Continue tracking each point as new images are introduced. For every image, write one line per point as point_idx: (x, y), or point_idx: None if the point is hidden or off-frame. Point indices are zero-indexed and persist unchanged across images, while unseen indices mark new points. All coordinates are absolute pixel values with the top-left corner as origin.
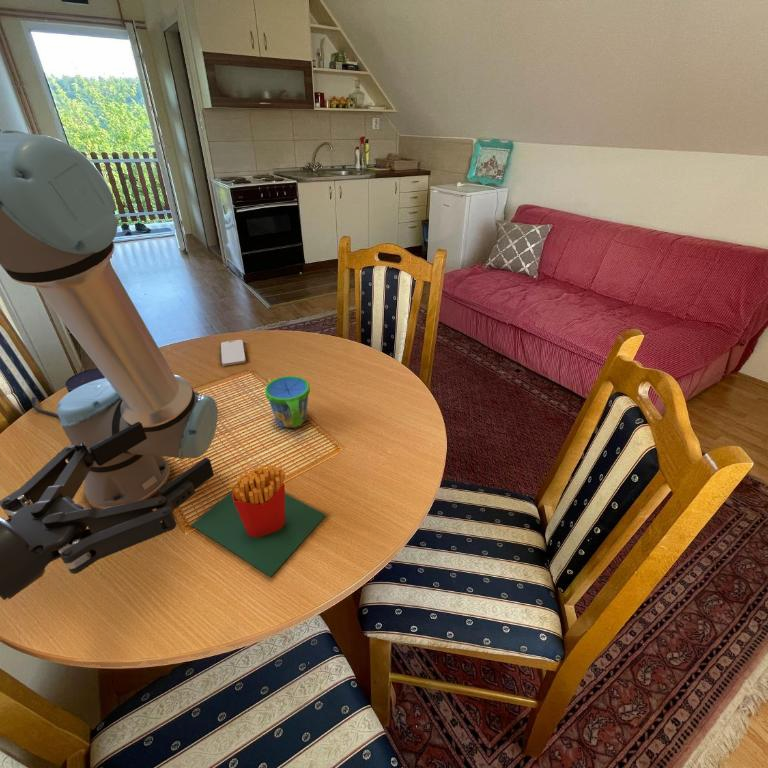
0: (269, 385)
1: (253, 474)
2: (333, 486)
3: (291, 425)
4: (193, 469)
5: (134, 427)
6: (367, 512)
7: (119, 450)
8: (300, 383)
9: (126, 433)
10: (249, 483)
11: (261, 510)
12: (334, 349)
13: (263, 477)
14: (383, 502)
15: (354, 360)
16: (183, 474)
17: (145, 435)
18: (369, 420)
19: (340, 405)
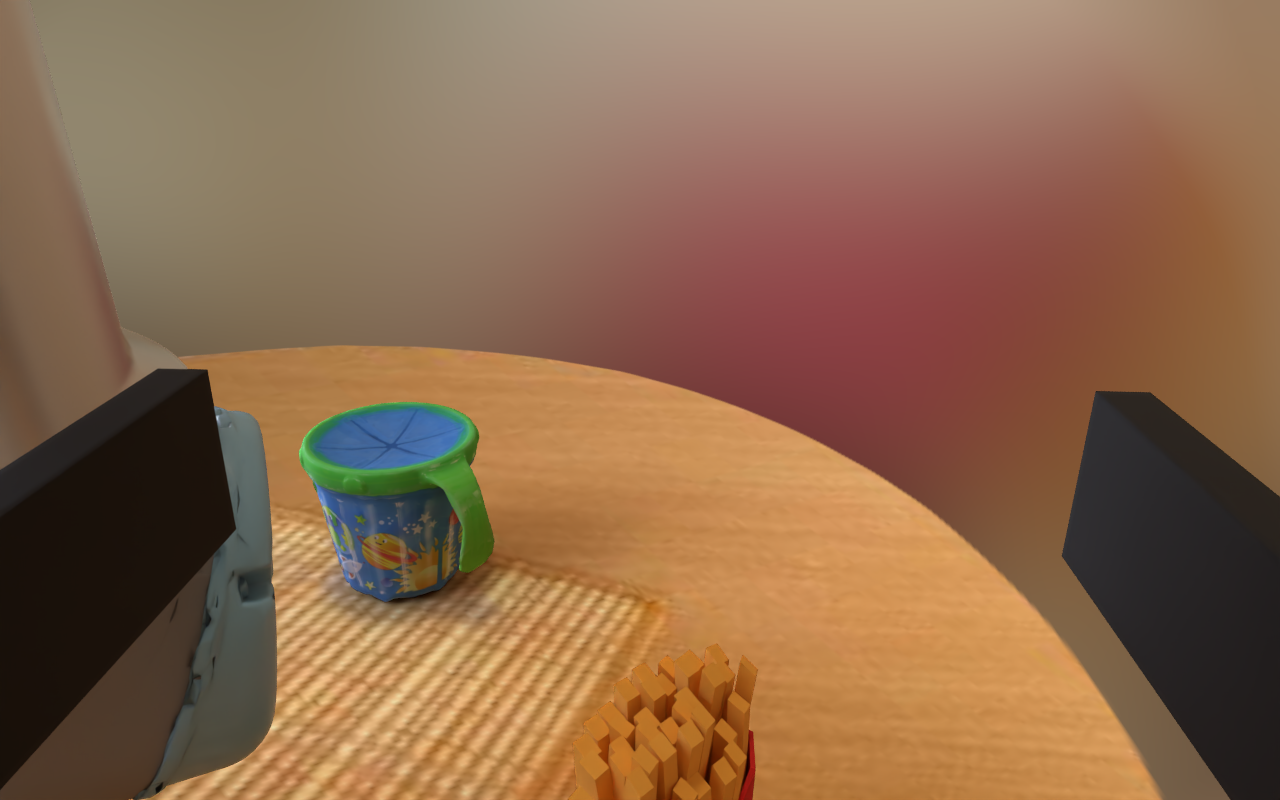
0: (312, 444)
1: (637, 717)
2: (759, 721)
3: (431, 581)
4: (1220, 458)
5: (173, 396)
6: (958, 758)
7: (84, 642)
8: (424, 418)
9: (125, 449)
10: (663, 761)
11: None
12: (376, 369)
13: (703, 709)
14: (966, 707)
15: (464, 381)
16: (1246, 505)
17: (229, 495)
18: (664, 503)
19: (534, 490)
